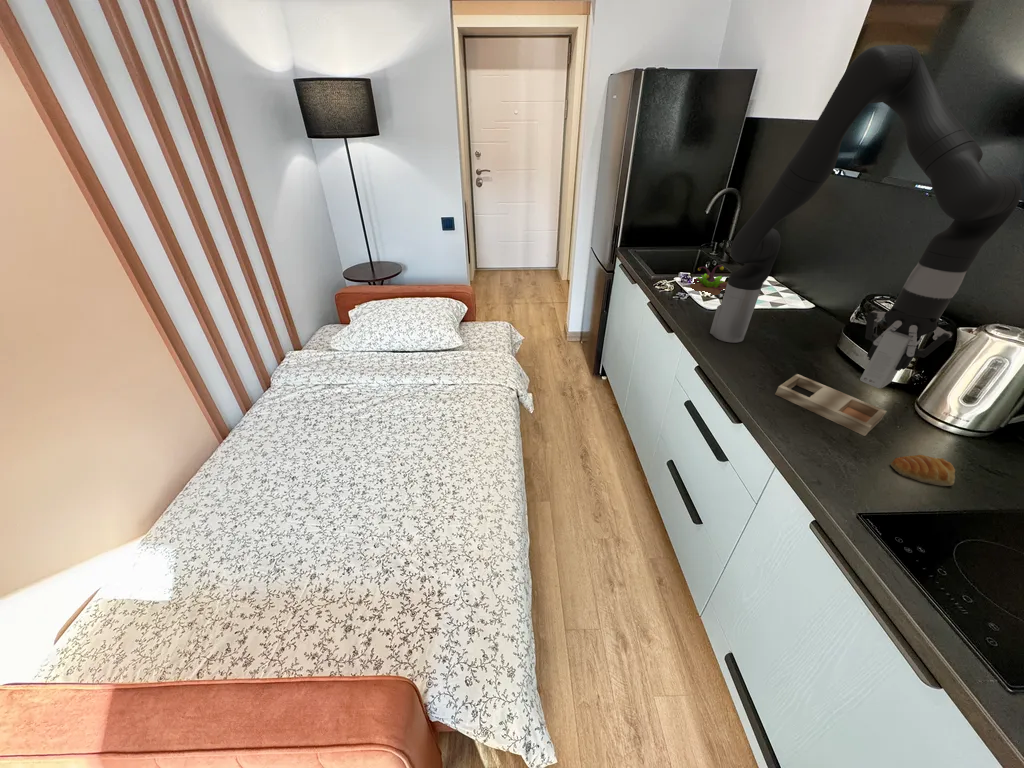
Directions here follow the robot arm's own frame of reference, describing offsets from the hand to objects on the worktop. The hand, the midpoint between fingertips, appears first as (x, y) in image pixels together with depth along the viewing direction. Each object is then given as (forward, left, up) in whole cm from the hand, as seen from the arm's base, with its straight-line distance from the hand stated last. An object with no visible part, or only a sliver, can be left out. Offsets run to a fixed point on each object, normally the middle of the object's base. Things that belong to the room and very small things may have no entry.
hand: (885, 364), depth 91 cm
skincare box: (0, 0, -4) cm, 4 cm away
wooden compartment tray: (-6, 0, -15) cm, 16 cm away
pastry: (+16, -9, -16) cm, 24 cm away
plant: (-67, +44, -16) cm, 82 cm away
